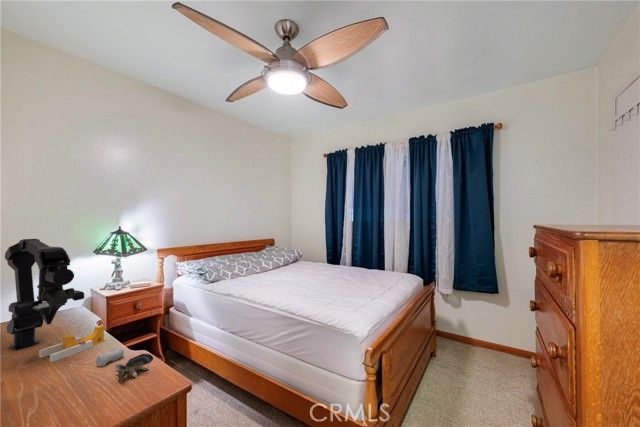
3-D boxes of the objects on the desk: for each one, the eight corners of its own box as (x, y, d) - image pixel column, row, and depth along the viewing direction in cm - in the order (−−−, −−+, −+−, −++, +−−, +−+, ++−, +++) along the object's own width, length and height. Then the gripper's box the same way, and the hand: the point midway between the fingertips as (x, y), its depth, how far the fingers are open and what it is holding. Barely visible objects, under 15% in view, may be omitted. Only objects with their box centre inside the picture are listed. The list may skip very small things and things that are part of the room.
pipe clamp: (97, 339, 109) (98, 324, 109) (103, 341, 107) (104, 326, 107) (60, 353, 98) (60, 335, 98) (65, 355, 96) (66, 338, 96)
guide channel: (38, 356, 95) (39, 347, 95) (79, 342, 106) (79, 334, 106) (52, 362, 91) (52, 352, 91) (92, 347, 102) (93, 338, 102)
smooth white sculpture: (118, 358, 96) (126, 356, 95) (92, 369, 89) (101, 368, 87) (116, 346, 97) (125, 344, 95) (91, 356, 90) (99, 354, 88)
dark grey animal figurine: (129, 384, 78) (157, 363, 86) (117, 363, 78) (147, 344, 87) (119, 390, 81) (147, 370, 89) (108, 370, 82) (137, 352, 90)
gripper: (22, 290, 84) (21, 339, 84) (92, 279, 101) (91, 319, 101) (8, 286, 89) (7, 332, 88) (77, 276, 106) (76, 314, 105)
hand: (48, 324), depth 95 cm, fingers closed
